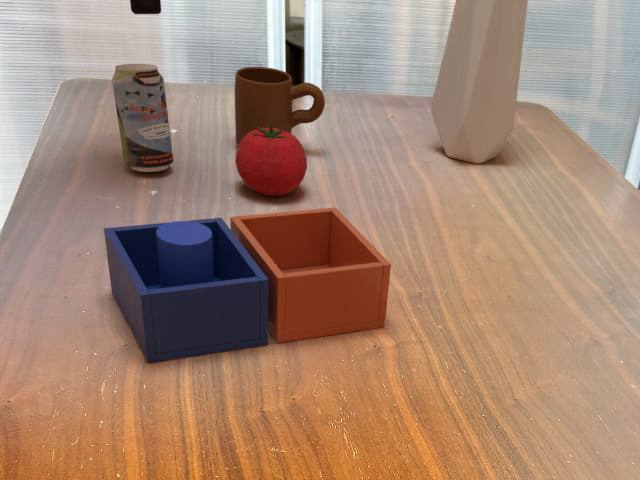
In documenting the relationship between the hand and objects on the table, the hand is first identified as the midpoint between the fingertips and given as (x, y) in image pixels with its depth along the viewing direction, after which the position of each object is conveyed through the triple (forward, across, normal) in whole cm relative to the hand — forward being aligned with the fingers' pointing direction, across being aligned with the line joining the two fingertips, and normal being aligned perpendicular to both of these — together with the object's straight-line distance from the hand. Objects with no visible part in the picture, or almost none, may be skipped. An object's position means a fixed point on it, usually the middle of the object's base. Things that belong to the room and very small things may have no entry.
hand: (135, 1), depth 100 cm
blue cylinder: (+18, +38, -6) cm, 43 cm away
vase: (+19, +3, +46) cm, 50 cm away
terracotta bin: (+18, +38, +6) cm, 43 cm away
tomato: (+19, +10, +12) cm, 25 cm away
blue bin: (+18, +38, -6) cm, 43 cm away
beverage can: (+19, 0, 0) cm, 19 cm away
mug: (+19, -3, +18) cm, 27 cm away
